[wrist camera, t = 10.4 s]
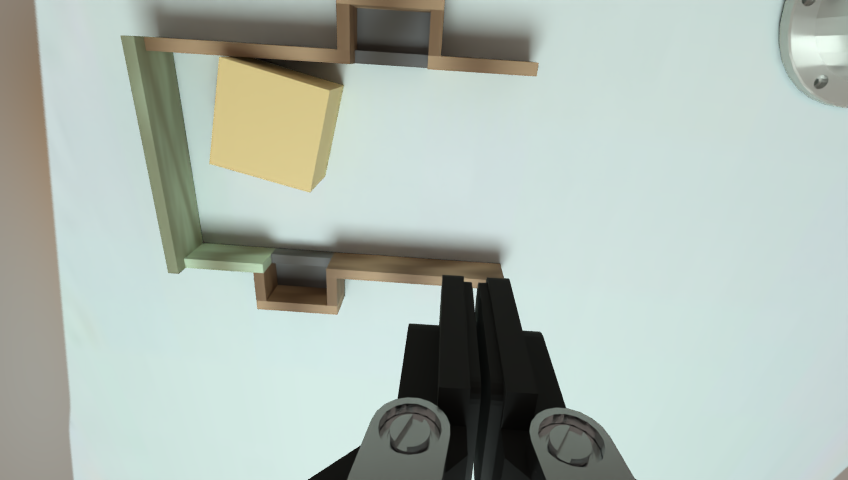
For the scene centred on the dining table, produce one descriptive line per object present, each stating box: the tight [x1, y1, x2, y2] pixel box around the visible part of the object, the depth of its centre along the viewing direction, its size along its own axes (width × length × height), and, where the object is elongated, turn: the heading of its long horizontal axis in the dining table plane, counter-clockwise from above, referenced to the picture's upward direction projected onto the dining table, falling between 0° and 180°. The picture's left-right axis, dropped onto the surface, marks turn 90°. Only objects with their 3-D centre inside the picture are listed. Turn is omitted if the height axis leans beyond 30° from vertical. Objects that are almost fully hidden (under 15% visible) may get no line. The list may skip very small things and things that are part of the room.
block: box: [209, 56, 344, 192], centre depth 31 cm, size 7×7×4 cm
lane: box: [121, 0, 539, 315], centre depth 32 cm, size 26×23×4 cm
